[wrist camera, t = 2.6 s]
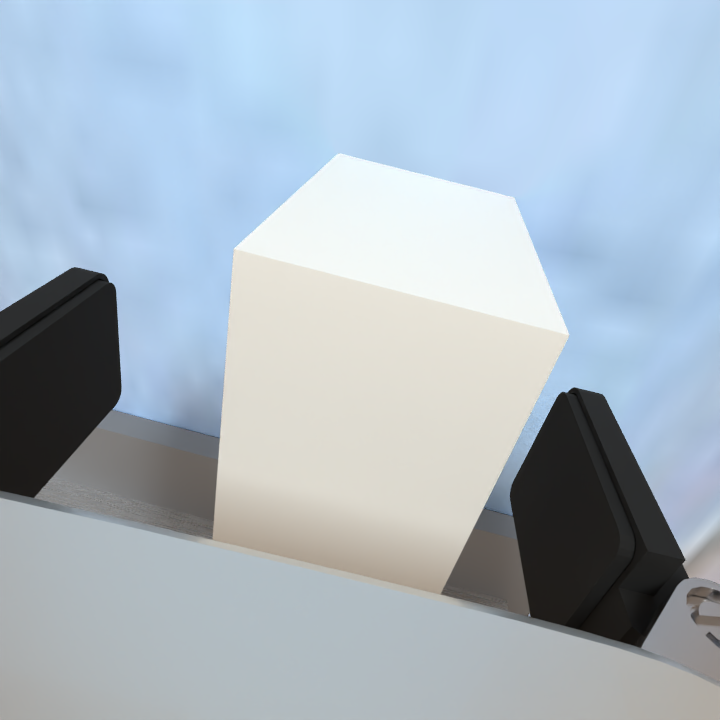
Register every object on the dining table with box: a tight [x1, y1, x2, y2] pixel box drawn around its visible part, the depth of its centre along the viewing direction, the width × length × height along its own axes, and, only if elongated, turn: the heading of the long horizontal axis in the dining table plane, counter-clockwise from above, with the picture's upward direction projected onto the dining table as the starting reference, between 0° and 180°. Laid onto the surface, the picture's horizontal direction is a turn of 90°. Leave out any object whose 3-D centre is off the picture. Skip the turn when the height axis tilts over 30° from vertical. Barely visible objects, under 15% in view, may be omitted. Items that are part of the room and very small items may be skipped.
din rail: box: [34, 478, 508, 611], centre depth 20 cm, size 22×4×2 cm, turn 78°
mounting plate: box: [52, 410, 530, 616], centre depth 21 cm, size 24×10×1 cm, turn 78°
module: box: [212, 153, 569, 594], centre depth 12 cm, size 4×8×7 cm, turn 168°
